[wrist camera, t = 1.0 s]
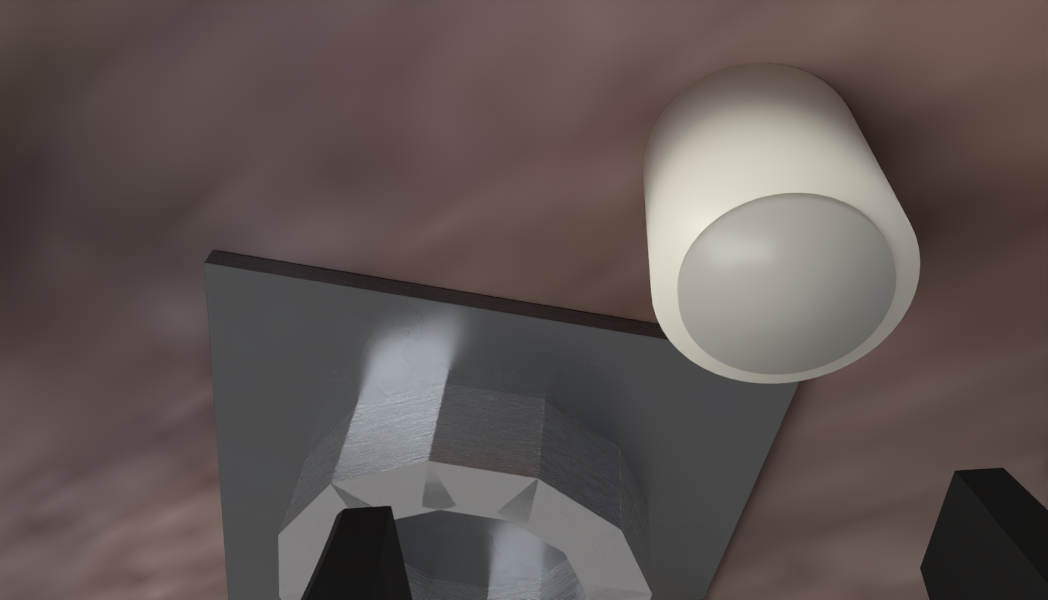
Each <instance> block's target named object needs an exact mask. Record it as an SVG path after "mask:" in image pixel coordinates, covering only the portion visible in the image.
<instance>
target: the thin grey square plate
mask: <svg viewBox="0 0 1048 600" xmlns="http://www.w3.org/2000/svg"><path fill="white" fill-rule="evenodd" d="M204 265H205V279H206V293H207V307H208V321H209V335H210V349H211V364H212V378H213V392H214V406H215V420H216V434H217V448H218V462H219V476H220V490H221V504H222V518H223V532H224V546H225V560H226V574H227V588H228V600H301V598H302V596H303V593H304V591H305V589H306V587H307V585H308V583H309V581H310V578H311V576H312V574H313V572H314V570H315V567H316V565H317V563H318V560H319V558H320V556H321V553H322V551H323V549H324V546H325V544H326V541H327V539H328V537H329V534H330V531H331V529H332V526H333V523H334V521H335V518H336V516H337V514H338V513H339V512H341V511H342V510H343V509H344V508H361V507H377V506H391V507H392V512H393V516H394V520H395V525H396V529H397V534H398V538H399V542H400V547H401V551H402V556H403V560H404V564H405V569H406V573H407V578H408V582H409V586H410V591H411V595H412V600H704V598H705V595H706V593H707V591H708V588H709V586H710V584H711V582H712V579H713V577H714V575H715V573H716V570H717V568H718V566H719V563H720V561H721V559H722V557H723V554H724V552H725V550H726V548H727V545H728V543H729V541H730V538H731V536H732V534H733V532H734V529H735V527H736V525H737V523H738V520H739V518H740V516H741V514H742V511H743V509H744V507H745V504H746V502H747V500H748V498H749V495H750V493H751V491H752V489H753V486H754V484H755V482H756V479H757V477H758V475H759V473H760V470H761V468H762V466H763V464H764V461H765V459H766V457H767V455H768V452H769V450H770V448H771V445H772V443H773V441H774V439H775V436H776V434H777V432H778V430H779V427H780V425H781V423H782V420H783V418H784V416H785V414H786V411H787V409H788V407H789V405H790V402H791V400H792V398H793V396H794V393H795V391H796V389H797V386H798V384H799V382H800V381H797V382H790V383H778V384H767V383H752V382H744V381H739V380H735V379H730V378H727V377H724V376H721V375H718V374H715V373H713V372H711V371H709V370H707V369H704V368H702V367H701V366H699V365H697V364H696V363H694V362H693V361H691V360H690V359H688V358H687V357H686V356H685V355H683V354H682V353H681V352H680V351H679V350H678V349H677V348H676V347H675V346H674V345H673V344H672V343H671V342H670V340H669V339H668V337H667V336H666V334H665V333H664V331H663V330H662V328H661V326H660V325H657V324H651V323H645V322H639V321H633V320H627V319H621V318H615V317H609V316H603V315H597V314H591V313H585V312H579V311H573V310H567V309H561V308H555V307H549V306H543V305H537V304H531V303H525V302H519V301H513V300H507V299H501V298H495V297H489V296H483V295H477V294H471V293H465V292H459V291H453V290H447V289H441V288H435V287H429V286H423V285H417V284H411V283H405V282H399V281H393V280H387V279H381V278H375V277H369V276H363V275H357V274H351V273H345V272H339V271H333V270H327V269H321V268H315V267H309V266H303V265H297V264H291V263H285V262H279V261H273V260H267V259H261V258H255V257H249V256H243V255H237V254H231V253H225V252H219V251H213V250H212V252H211V254H210V255H209V257H208V258H207V260H206V261H205V263H204Z"/></svg>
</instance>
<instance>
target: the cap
mask: <svg viewBox="0 0 1048 600" xmlns="http://www.w3.org/2000/svg"><path fill="white" fill-rule="evenodd" d="M643 182H644V196H645V211H646V225H647V239H648V253H649V267H650V281H651V294H652V302H653V307H654V311H655V314H656V317H657V320H658V322H659V324H660V326H661V328H662V330H663V331H664V333H665V334H666V336H667V337H668V339H669V340H670V342H671V343H672V344H673V345H674V346H675V347H676V348H677V349H678V350H679V351H680V352H681V353H682V354H683V355H685V356H686V357H687V358H688V359H690V360H691V361H693V362H694V363H696V364H697V365H699V366H701V367H702V368H704V369H707V370H709V371H711V372H713V373H715V374H718V375H721V376H724V377H727V378H730V379H735V380H739V381H744V382H752V383H767V384H778V383H790V382H797V381H802V380H808V379H812V378H815V377H819V376H822V375H826V374H828V373H831V372H833V371H836V370H839V369H841V368H843V367H845V366H847V365H849V364H851V363H853V362H855V361H856V360H858V359H859V358H861V357H863V356H864V355H866V354H867V353H869V352H870V351H871V350H873V349H874V348H875V347H876V346H878V345H879V344H880V343H881V342H882V341H883V340H884V339H885V338H886V337H887V336H888V335H889V334H890V333H891V332H892V331H893V330H894V329H895V327H896V326H897V325H898V324H899V322H900V321H901V320H902V318H903V317H904V315H905V313H906V312H907V310H908V308H909V306H910V304H911V302H912V299H913V297H914V295H915V292H916V288H917V284H918V280H919V273H920V253H919V247H918V243H917V239H916V235H915V233H914V231H913V229H912V226H911V224H910V222H909V220H908V218H907V216H906V215H905V213H904V211H903V209H902V207H901V205H900V203H899V201H898V200H897V198H896V196H895V194H894V192H893V190H892V188H891V186H890V185H889V183H888V181H887V179H886V177H885V175H884V173H883V171H882V170H881V168H880V166H879V164H878V162H877V160H876V158H875V156H874V155H873V153H872V151H871V149H870V147H869V145H868V143H867V141H866V140H865V138H864V136H863V134H862V132H861V130H860V128H859V126H858V125H857V123H856V121H855V119H854V117H853V115H852V113H851V111H850V110H849V108H848V106H847V105H846V103H845V102H844V101H843V99H842V98H841V97H840V96H839V95H838V93H837V92H836V91H835V90H834V89H833V88H832V87H830V86H829V85H828V84H827V83H825V82H824V81H823V80H821V79H819V78H818V77H816V76H814V75H812V74H811V73H808V72H806V71H803V70H801V69H798V68H795V67H790V66H786V65H782V64H772V63H751V64H744V65H737V66H734V67H730V68H726V69H722V70H720V71H717V72H715V73H712V74H710V75H708V76H706V77H704V78H702V79H700V80H698V81H697V82H695V83H693V84H692V85H691V86H689V87H688V88H686V89H685V90H684V91H682V92H681V93H680V94H679V95H678V96H677V97H676V98H675V99H673V100H672V102H671V103H670V104H669V105H668V106H667V107H666V108H665V110H664V111H663V112H662V114H661V115H660V117H659V118H658V120H657V121H656V123H655V125H654V127H653V129H652V131H651V133H650V135H649V138H648V141H647V144H646V147H645V152H644V158H643Z"/></svg>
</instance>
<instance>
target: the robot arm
mask: <svg viewBox="0 0 1048 600" xmlns="http://www.w3.org/2000/svg"><path fill="white" fill-rule="evenodd" d="M920 569H921V573H922V576H923V579H924V582H925V586H926V589H927V592H928V596H929V599H930V600H1048V510H1047V509H1046V508H1045V507H1044V506H1043V505H1042V504H1041V503H1040V502H1038V501H1037V500H1036V499H1035V498H1034V497H1033V496H1032V495H1031V494H1030V493H1029V492H1028V491H1027V490H1026V489H1025V488H1024V487H1023V486H1022V485H1021V484H1020V483H1019V482H1018V481H1017V480H1015V479H1014V478H1013V477H1012V476H1011V475H1010V474H1009V473H1008V472H1007V471H1006V470H1005V469H1004V468H991V469H975V470H959V471H955V472H954V475H953V477H952V480H951V483H950V486H949V489H948V491H947V494H946V497H945V500H944V503H943V505H942V508H941V511H940V514H939V517H938V519H937V522H936V525H935V528H934V531H933V533H932V536H931V539H930V542H929V545H928V547H927V550H926V553H925V556H924V559H923V561H922V564H921V567H920ZM301 600H412V595H411V591H410V586H409V582H408V578H407V573H406V569H405V564H404V560H403V556H402V551H401V547H400V542H399V538H398V534H397V529H396V525H395V520H394V516H393V512H392V507H391V506H377V507H361V508H344V509H343V510H342V511H341V512H339V513H338V514H337V516H336V518H335V521H334V523H333V526H332V529H331V531H330V534H329V537H328V539H327V541H326V544H325V546H324V549H323V551H322V553H321V556H320V558H319V560H318V563H317V565H316V567H315V570H314V572H313V574H312V576H311V578H310V581H309V583H308V585H307V587H306V589H305V591H304V593H303V596H302V598H301Z"/></svg>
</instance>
